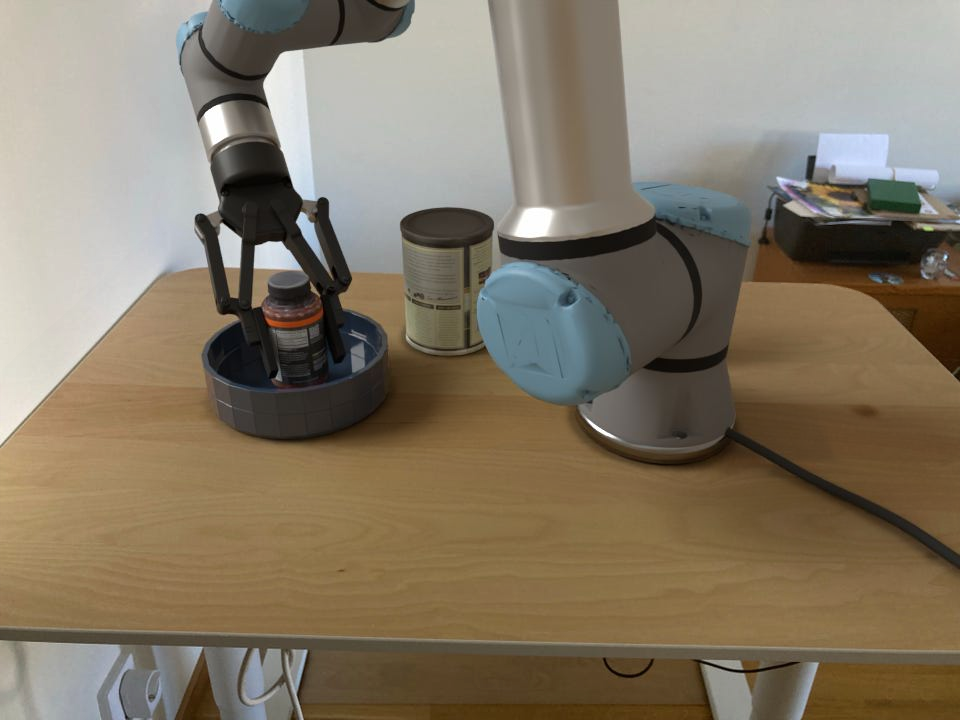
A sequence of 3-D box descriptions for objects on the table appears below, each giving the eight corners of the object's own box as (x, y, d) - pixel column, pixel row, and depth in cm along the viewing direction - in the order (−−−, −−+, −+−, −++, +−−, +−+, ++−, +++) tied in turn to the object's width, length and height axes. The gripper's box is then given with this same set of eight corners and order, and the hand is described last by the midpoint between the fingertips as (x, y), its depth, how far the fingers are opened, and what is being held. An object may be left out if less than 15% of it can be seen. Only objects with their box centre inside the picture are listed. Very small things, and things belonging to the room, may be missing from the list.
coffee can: (412, 314, 96) (408, 204, 90) (494, 318, 96) (497, 208, 89) (397, 354, 88) (391, 236, 81) (488, 359, 87) (490, 240, 80)
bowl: (426, 383, 82) (424, 337, 79) (292, 466, 69) (285, 414, 67) (309, 333, 92) (304, 291, 89) (173, 398, 79) (163, 351, 76)
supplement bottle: (281, 362, 83) (269, 264, 77) (336, 366, 82) (327, 267, 77) (262, 392, 78) (247, 288, 72) (320, 396, 77) (310, 292, 72)
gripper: (329, 166, 87) (389, 357, 83) (150, 187, 79) (206, 399, 75) (340, 128, 80) (407, 334, 76) (146, 148, 73) (208, 378, 68)
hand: (307, 366), depth 75 cm, fingers closed on supplement bottle, 6 cm apart
